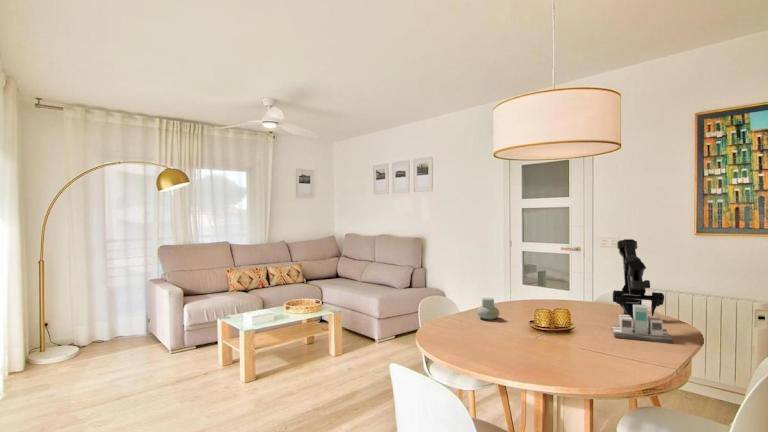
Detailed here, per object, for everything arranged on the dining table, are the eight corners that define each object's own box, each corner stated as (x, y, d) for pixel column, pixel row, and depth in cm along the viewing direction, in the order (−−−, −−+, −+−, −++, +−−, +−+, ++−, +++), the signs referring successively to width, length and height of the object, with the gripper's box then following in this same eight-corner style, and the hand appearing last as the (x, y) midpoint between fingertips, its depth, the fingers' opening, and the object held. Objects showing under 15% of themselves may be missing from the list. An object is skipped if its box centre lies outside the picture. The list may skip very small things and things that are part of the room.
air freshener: (493, 315, 207) (493, 296, 207) (502, 319, 199) (501, 299, 199) (474, 317, 204) (474, 297, 204) (482, 321, 196) (482, 301, 196)
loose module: (633, 329, 171) (632, 304, 171) (645, 330, 169) (645, 304, 169) (635, 333, 166) (634, 306, 166) (647, 334, 164) (647, 307, 164)
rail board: (611, 328, 178) (611, 312, 178) (665, 333, 169) (665, 315, 169) (614, 337, 165) (614, 319, 165) (673, 343, 157) (672, 324, 157)
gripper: (612, 272, 177) (615, 302, 167) (662, 274, 169) (669, 305, 159) (611, 286, 184) (614, 316, 174) (659, 289, 176) (665, 320, 166)
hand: (639, 314), depth 168 cm, fingers open, 9 cm apart
